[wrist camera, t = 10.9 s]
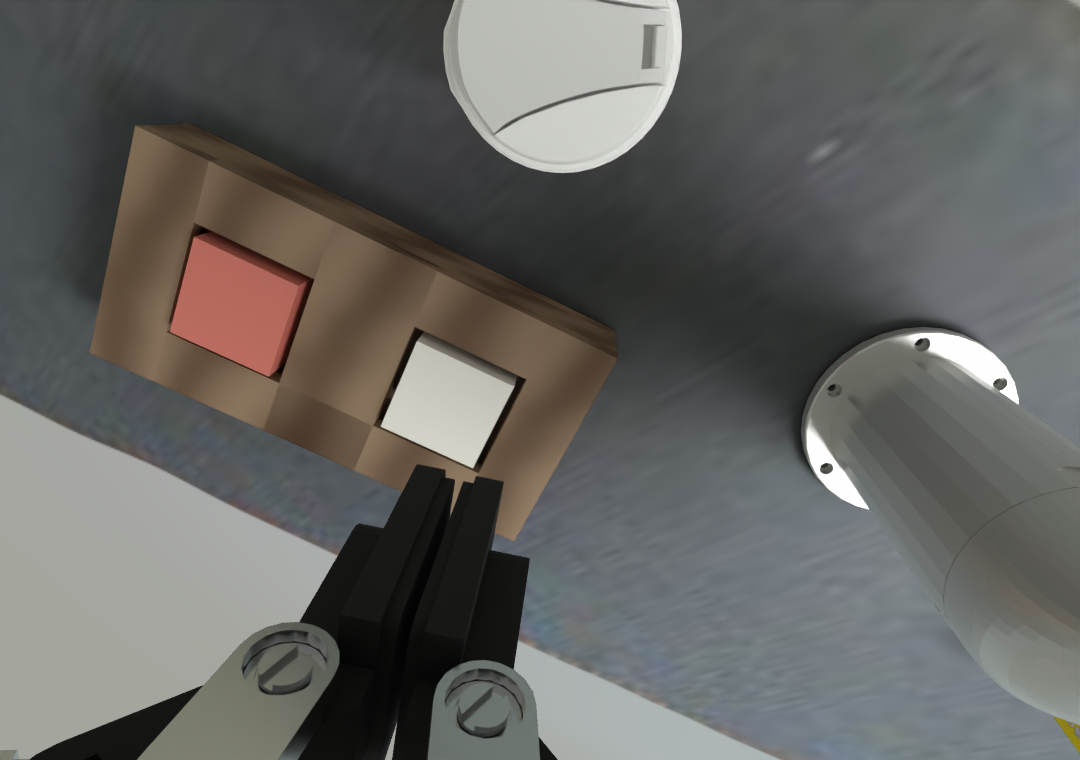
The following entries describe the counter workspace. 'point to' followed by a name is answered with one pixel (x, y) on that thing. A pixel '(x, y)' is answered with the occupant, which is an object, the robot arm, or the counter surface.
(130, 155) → the panel
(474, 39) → the coffee cup
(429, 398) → the white key
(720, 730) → the counter surface
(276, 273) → the red key
